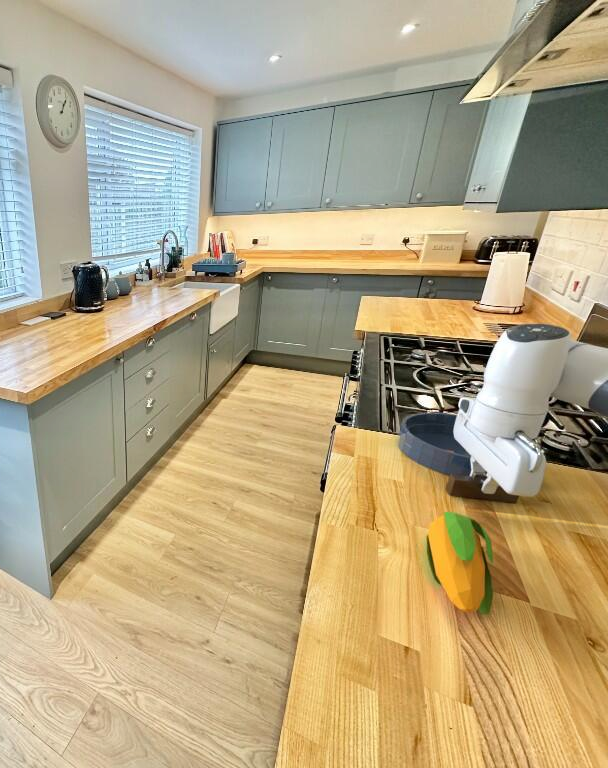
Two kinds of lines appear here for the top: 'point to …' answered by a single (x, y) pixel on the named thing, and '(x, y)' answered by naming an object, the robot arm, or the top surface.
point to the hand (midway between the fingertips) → (481, 485)
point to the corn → (461, 561)
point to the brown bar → (476, 489)
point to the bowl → (434, 443)
